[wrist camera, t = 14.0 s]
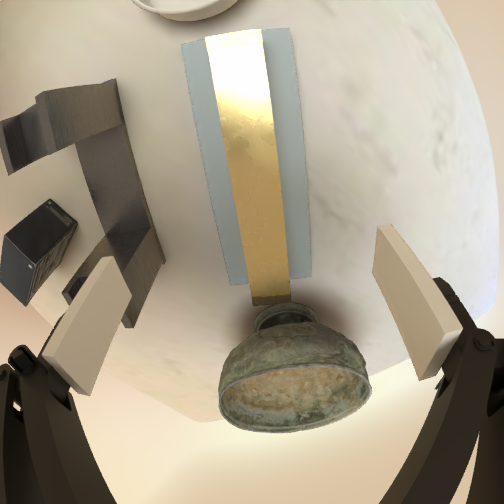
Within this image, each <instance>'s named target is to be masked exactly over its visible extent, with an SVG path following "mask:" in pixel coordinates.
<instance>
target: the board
mask: <svg viewBox="0 0 504 504" xmlns="http://www.w3.org/2000/svg"><path fill="white" fill-rule="evenodd" d="M261 36H262V42H263V44H262V46H263V52H264V59H265V65H266V72H267V79H268V86H269V93H270V100H271V107H272V115H273V123H274V130H275V138H276V147H277V155H278V164H279V173H280V182H281V191H282V201H283V211H284V222H285V233H286V244H287V256H288V268H289V279H297V278H306V277H311V248H310V222H309V203H308V186H307V172H306V159H305V148H304V137H303V126H302V117H301V108H300V99H299V91H298V83H297V76H296V68H295V61H294V54H293V48H292V42H291V35H290V30H289V28H279V29H266V30H261ZM181 47H182V53H183V59H184V65H185V71H186V76H187V82H188V87H189V93H190V98H191V104H192V109H193V114H194V119H195V124H196V130H197V135H198V140H199V145H200V150H201V155H202V159H203V164H204V169H205V174H206V179H207V183H208V188H209V193H210V197H211V202H212V206H213V211H214V216H215V220H216V224H217V229H218V233H219V238H220V242H221V246H222V251H223V255H224V259H225V263H226V268H227V272H228V276H229V280H230V284H231V285H237V284H248V283H249V278H248V272H247V267H246V262H245V256H244V251H243V245H242V240H241V234H240V229H239V223H238V218H237V212H236V207H235V201H234V196H233V190H232V185H231V179H230V174H229V168H228V162H227V157H226V151H225V145H224V140H223V134H222V128H221V122H220V117H219V111H218V105H217V99H216V93H215V88H214V82H213V76H212V70H211V64H210V58H209V52H208V51H207V45H206V39H202V40H197V41H193V42H189V43H184V44H181Z"/></svg>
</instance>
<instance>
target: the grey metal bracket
mask: <svg viewBox="0 0 504 504" xmlns="http://www.w3.org/2000/svg"><path fill="white" fill-rule="evenodd" d="M35 98H36V104H35V105H33V106H32V107H30V108H29V109H27V110H26V111H24V112H23V113H21V114H20V115H17V116H14V117H11V118H8V119H5V120H2V121H0V148H1V152H2V155H3V159H4V162H5V166H6V169H7V172H8V176H9V175H11V174H12V173H14V172H16V171H18V170H19V169H21V168H23V167H25V166H27V165H28V164H30V163H32V162H34V161H36V160H38V159H40V158H42V157H44V156H46V155H50V154H52V153H54V152H57V151H59V150H61V149H63V148H65V147H67V146H69V145H71V144H74V143H75V145H76V149H77V152H78V156H79V159H80V163H81V166H82V169H83V173H84V176H85V179H86V182H87V185H88V188H89V191H90V194H91V197H92V200H93V203H94V205H95V208H96V211H97V214H98V216H99V219H100V222H101V224H102V227H103V229H104V232H105V234H106V235H105V236H104V238H103V239H102V240H101V241H100V242H99V244H98V245H97V246H96V247H95V249H94V250H93V251H92V252H91V254H90V255H89V256H88V257H87V259H86V260H85V261H84V263H83V264H82V265H81V267H80V268H79V269H78V271H77V272H76V273H75V275H74V276H73V277H72V279H71V280H70V281H69V283H68V284H67V286H66V287H65V288H64V290H63V291H62V295H63V296H64V298H65V300H66V301H67V303H68V305H69V306H70V304H71V303H72V301H73V300H74V298H75V296H76V295H77V293H78V292H79V290H80V289H81V287H82V286H83V284H84V283H85V281H86V280H87V278H88V277H89V275H90V274H91V272H92V271H93V269H94V268H95V267H96V265H97V264H98V262H99V261H100V260H101V258H102V257H109V256H113V257H114V259H115V261H116V263H117V265H118V268H119V270H120V272H121V274H122V276H123V278H124V280H125V283H126V285H127V287H128V289H129V291H130V293H131V295H132V297H131V299H130V301H129V303H128V306H127V308H126V310H125V312H124V314H123V316H122V319H121V321H122V323H123V325H124V326H125V328H134V326H135V324H136V321H137V319H138V316H139V314H140V312H141V309H142V307H143V305H144V302H145V300H146V298H147V295H148V293H149V291H150V288H151V286H152V284H153V282H154V279H155V277H156V275H157V273H158V271H159V268H160V266H161V264H164V263H165V261H166V260H165V257H164V255H163V252H162V249H161V246H160V243H159V240H158V237H157V234H156V231H155V228H154V225H153V222H152V219H151V216H150V213H149V210H148V206H147V203H146V200H145V197H144V193H143V190H142V187H141V183H140V180H139V176H138V172H137V169H136V165H135V161H134V158H133V154H132V150H131V146H130V142H129V138H128V134H127V130H126V126H125V121H124V117H123V112H122V108H121V103H120V98H119V93H118V88H117V83H116V79H111V80H108V81H106V82H104V83H101V84H93V85H83V86H75V87H67V88H60V89H54V90H48V91H43V92H42V93H40V94H39V95H37V96H35Z"/></svg>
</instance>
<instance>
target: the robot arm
mask: <svg viewBox="0 0 504 504" xmlns="http://www.w3.org/2000/svg"><path fill="white" fill-rule="evenodd" d="M372 273H373V275H374V277H375V279H376V281H377V283H378V285H379V287H380V289H381V292H382V294H383V296H384V298H385V300H386V302H387V304H388V306H389V309H390V311H391V313H392V315H393V317H394V320H395V322H396V324H397V327H398V329H399V331H400V334H401V336H402V338H403V341H404V343H405V346H406V348H407V350H408V353H409V355H410V358H411V360H412V363H413V366H414V368H415V371H416V374H417V376H418V379H419V381H421V380H424V379H427V378H430V377H433V376H436V374H437V373H438V371H439V370H440V368H441V367H442V370H443V372H444V376H443V377H442V379H441V380H440V381H439V383H438V384H437V386H436V388H435V389H436V390H437V389H438V391H437V393H436V396H435V399H434V401H433V404H432V406H431V409H430V411H429V413H428V416H427V418H426V420H425V423H424V425H423V427H422V429H421V432H420V434H419V436H418V438H417V440H416V442H415V444H414V446H413V448H412V450H411V452H410V453H409V456H408V458H407V459H406V461H405V463H404V464H403V466H402V468H401V470H400V472H399V473H398V475H397V477H396V478H395V480H394V481H393V483H392V485H391V486H390V488H389V489H388V491H387V492H386V494H385V495H384V497H383V498H382V500H381V501H380V503H379V504H450V502H451V500H452V498H453V496H454V494H455V492H456V490H457V488H458V486H459V483H460V481H461V479H462V477H463V474H464V472H465V470H466V467H467V465H468V462H469V460H470V457H471V455H472V452H473V449H474V446H475V444H476V441H477V437H478V434H479V442H478V449H477V456H476V462H475V467H474V473H473V477H472V482H471V486H470V491H469V494H468V498H467V502H466V504H504V339H495V338H494V336H493V335H492V334H491V333H490V332H488V331H486V330H484V329H479V328H477V327H476V325H475V323H474V321H473V320H472V318H471V317H470V315H469V313H468V312H467V310H466V309H465V307H464V306H463V304H462V302H460V299H459V298H458V296H457V295H455V292H454V291H453V289H452V288H451V286H450V285H449V284H448V283H447V282H446V281H444V280H443V279H442V278H440V277H438V278H433V279H432V278H431V276H430V275H429V273H428V272H427V270H426V269H425V268H424V266H423V265H422V263H421V262H420V261H419V259H418V258H417V256H416V255H415V254H414V252H413V251H412V250H411V248H410V247H409V246H408V244H407V243H406V242H405V240H404V239H403V238H402V237H401V235H400V234H399V233H398V231H397V230H396V229H395V228H394V226H393V225H392V224H389V225H379V226H377V237H376V246H375V255H374V263H373V270H372ZM131 297H132V295H131V293H130V291H129V289H128V287H127V285H126V283H125V280H124V278H123V276H122V274H121V272H120V270H119V268H118V265H117V263H116V261H115V259H114V257H113V256H109V257H102V258H101V260H100V261H99V262H98V264H97V265H96V267H95V268H94V269H93V271H92V272H91V274H90V275H89V277H88V278H87V280H86V281H85V283H84V284H83V286H82V287H81V289H80V290H79V292H78V293H77V295H76V296H75V298H74V300H73V301H72V303H71V304H70V306H69V308H68V309H67V311H66V312H65V313H64V314H63V315H62V316H61V317H60V318H59V319H58V321H57V323H56V325H55V326H54V329H53V330H52V331H51V333H50V336H49V337H48V339H47V340H46V342H45V344H44V346H43V348H42V350H41V351H40V353H39V355H38V357H37V358H36V356H35V355H34V354H33V353H32V352H31V351H30V349H29V348H28V347H27V346H26V345H20V346H17V347H16V348H15V349H14V350H13V351H12V353H11V354H10V356H9V358H8V363H9V364H10V365H11V366H12V367H13V368H14V369H15V370H13V369H12V368H11V367H10V365H8V364H3V365H1V366H0V504H117V503H116V501H115V499H114V498H113V496H112V494H111V492H110V490H109V489H108V486H107V484H106V482H105V480H104V478H103V476H102V474H101V472H100V470H99V467H98V465H97V463H96V461H95V459H94V456H93V454H92V451H91V449H90V446H89V444H88V441H87V439H86V436H85V433H84V430H83V428H82V425H81V422H80V419H79V416H78V413H77V410H76V407H75V403H74V400H73V397H72V395H71V393H70V392H69V388H70V386H71V387H72V388H73V389H74V390H75V391H76V392H77V393H79V394H83V395H88V396H90V395H91V392H92V389H93V387H94V384H95V381H96V379H97V376H98V374H99V371H100V368H101V366H102V363H103V361H104V358H105V356H106V353H107V351H108V349H109V346H110V344H111V342H112V339H113V337H114V335H115V332H116V330H117V328H118V325H119V323H120V321H121V319H122V316H123V314H124V312H125V310H126V308H127V306H128V303H129V301H130V299H131ZM14 402H15V403H16V404H17V405H19V406H20V407H21V409H20V411H18V410H16V409H15V408H14V407H13V403H14ZM479 431H480V432H479Z"/></svg>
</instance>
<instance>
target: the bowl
mask: <svg viewBox="0 0 504 504" xmlns="http://www.w3.org/2000/svg"><path fill="white" fill-rule="evenodd" d="M365 366H366V362H365V360H364V358H363V356H362V355H361V353H360V352H359V350H358V348H357V346H356V345H355V344H354V343H353V342H352V341H351V340H349V339H347V338H346V337H345V336H344V335H342V334H341V333H338V332H336V331H334V330H332V329H330V328H328V327H326V326H323V325H321V324H319V320H318V317H317V315H316V314H315V312H314V311H313V310H312V309H310V308H309V307H307V306H305V305H301V304H296V303H281V304H276V305H273V306H271V307H268V308H267V309H265V310H264V311H262V312H261V313H260V314H259V315H258V316H257V318H256V320H255V321H254V333H253V334H252V335H250V336H249V337H248V338H247V339H246V340H245V341H243V342H242V343H240V344H239V345H238V346H237V347H236V348H234V349H233V350H232V351H231V352H230V354H229V356H228V357H227V359H226V361H225V363H224V365H223V370H222V373H221V377H220V383H219V389H218V392H219V409H220V412H221V414H222V416H223V417H224V418H225V419H226V420H227V421H228V422H229V423H231V424H232V425H234V426H236V427H238V428H240V429H243V430H248V431H253V432H265V433H291V432H296V431H300V430H302V431H303V430H309V429H314V428H318V427H322V426H325V425H329V424H331V423H334V422H337V421H339V420H341V419H343V418H345V417H347V416H349V415H351V414H353V413H354V412H356V411H357V410H358V409H360V408H361V407H362V406H363V405H364V404H365V403H366V402H367V401H368V399H369V397H370V396H371V394H372V387H371V385H370V383H369V379H368V374H367V371H366V368H365Z"/></svg>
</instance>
